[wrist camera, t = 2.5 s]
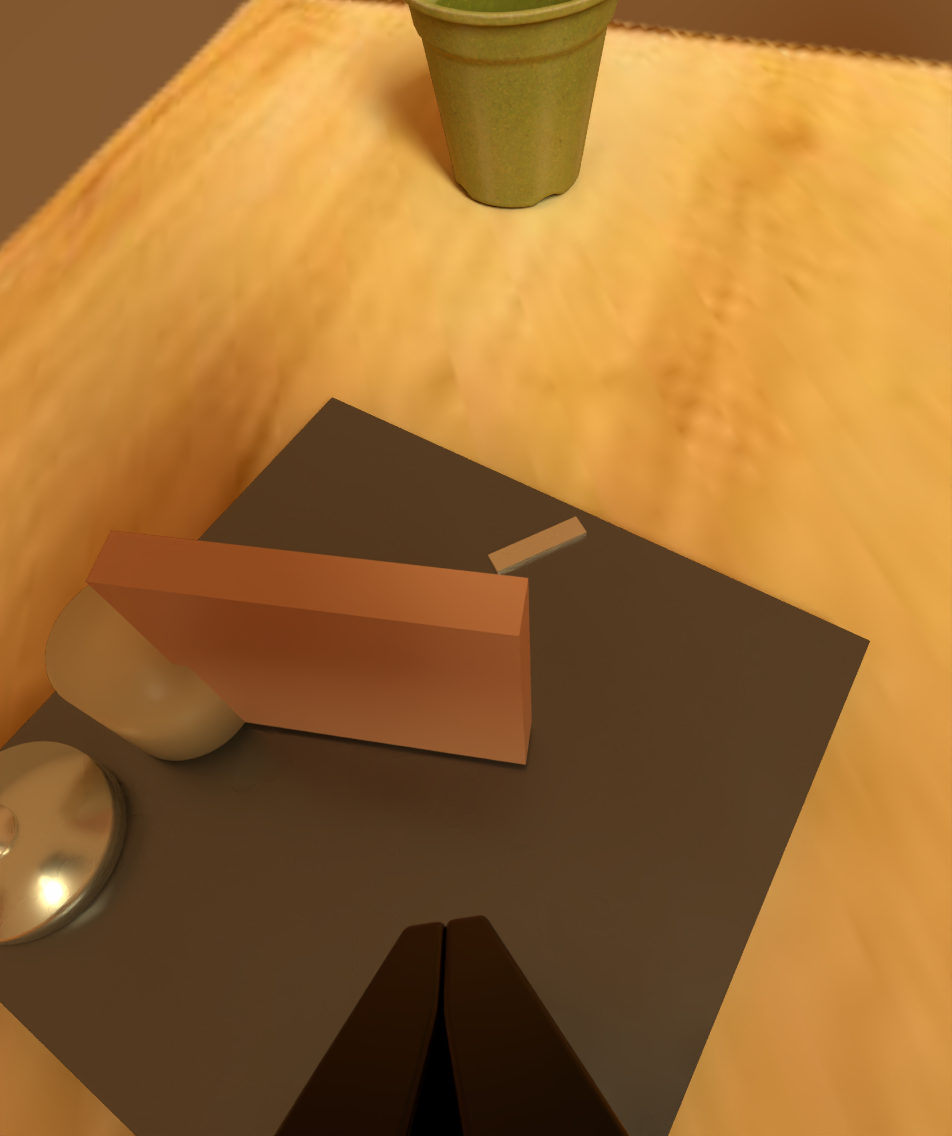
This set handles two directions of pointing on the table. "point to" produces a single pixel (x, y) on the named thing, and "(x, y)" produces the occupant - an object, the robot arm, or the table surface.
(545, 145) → the plant pot
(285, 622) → the terracotta tile
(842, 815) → the table surface
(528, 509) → the plate
